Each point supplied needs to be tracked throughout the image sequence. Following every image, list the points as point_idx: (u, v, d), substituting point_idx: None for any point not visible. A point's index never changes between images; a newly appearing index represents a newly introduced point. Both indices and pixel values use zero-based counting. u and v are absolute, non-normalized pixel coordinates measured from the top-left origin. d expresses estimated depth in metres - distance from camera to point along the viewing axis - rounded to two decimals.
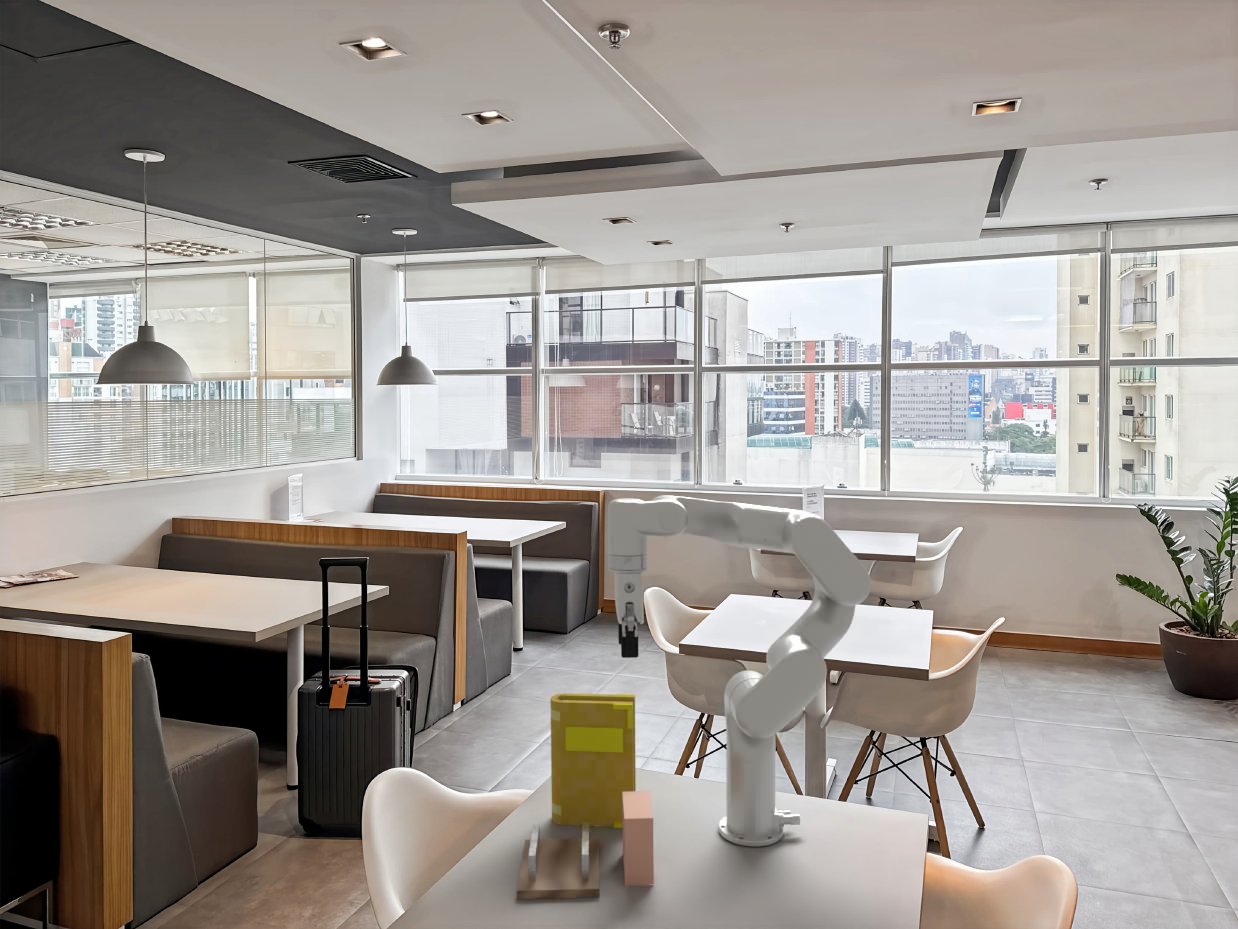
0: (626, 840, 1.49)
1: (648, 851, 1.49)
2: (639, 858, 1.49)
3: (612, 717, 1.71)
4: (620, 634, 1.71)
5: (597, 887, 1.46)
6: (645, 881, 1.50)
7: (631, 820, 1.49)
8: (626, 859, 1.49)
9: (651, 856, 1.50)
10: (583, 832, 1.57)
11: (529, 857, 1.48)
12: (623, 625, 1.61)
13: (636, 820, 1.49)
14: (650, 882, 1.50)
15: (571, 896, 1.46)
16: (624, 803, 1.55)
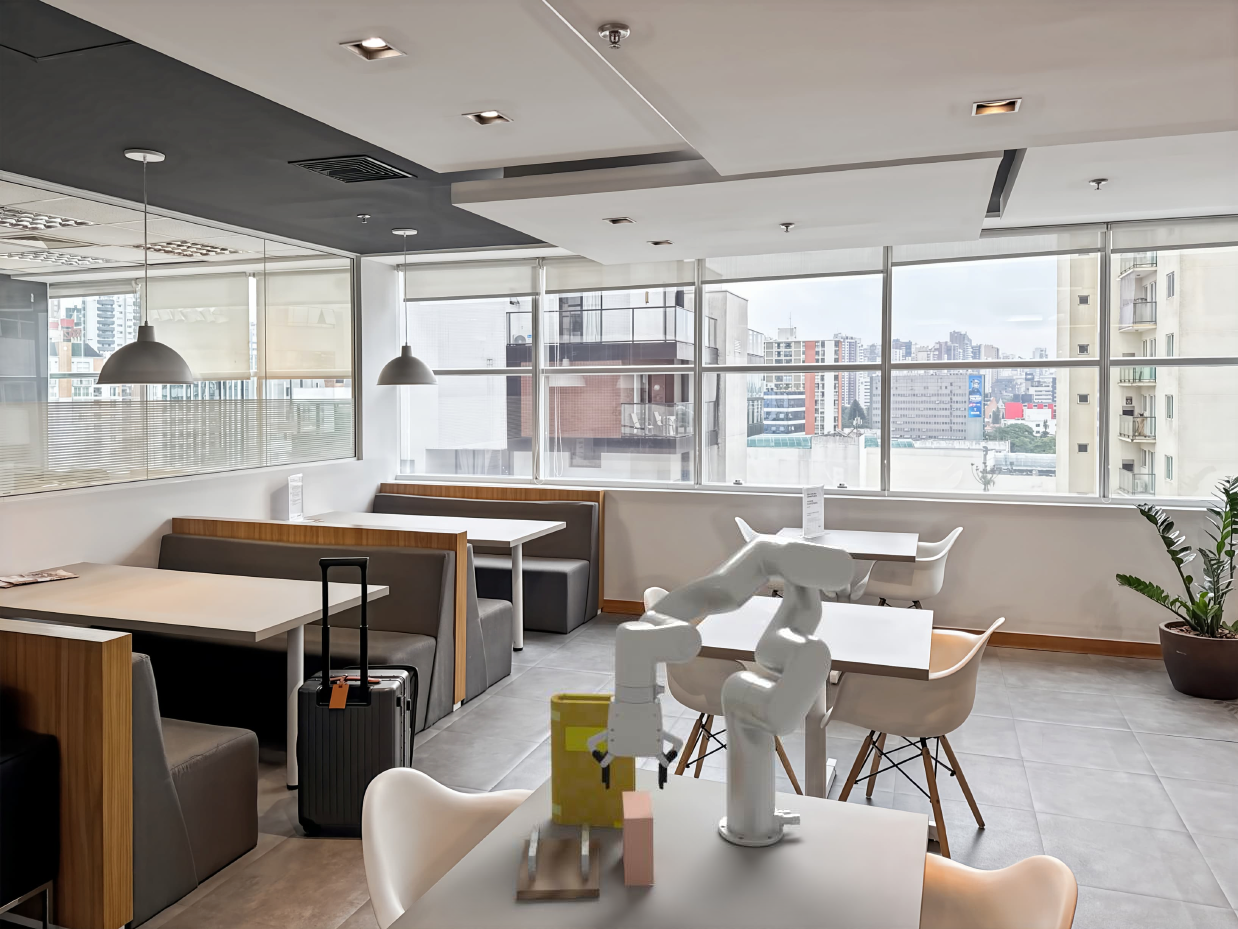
0: (626, 840, 1.49)
1: (648, 851, 1.49)
2: (639, 858, 1.49)
3: None
4: (609, 777, 1.53)
5: (597, 887, 1.46)
6: (645, 881, 1.50)
7: (631, 820, 1.49)
8: (626, 859, 1.49)
9: (651, 856, 1.50)
10: (583, 832, 1.57)
11: (529, 857, 1.48)
12: (663, 755, 1.53)
13: (636, 820, 1.49)
14: (650, 882, 1.50)
15: (571, 896, 1.46)
16: (624, 803, 1.55)
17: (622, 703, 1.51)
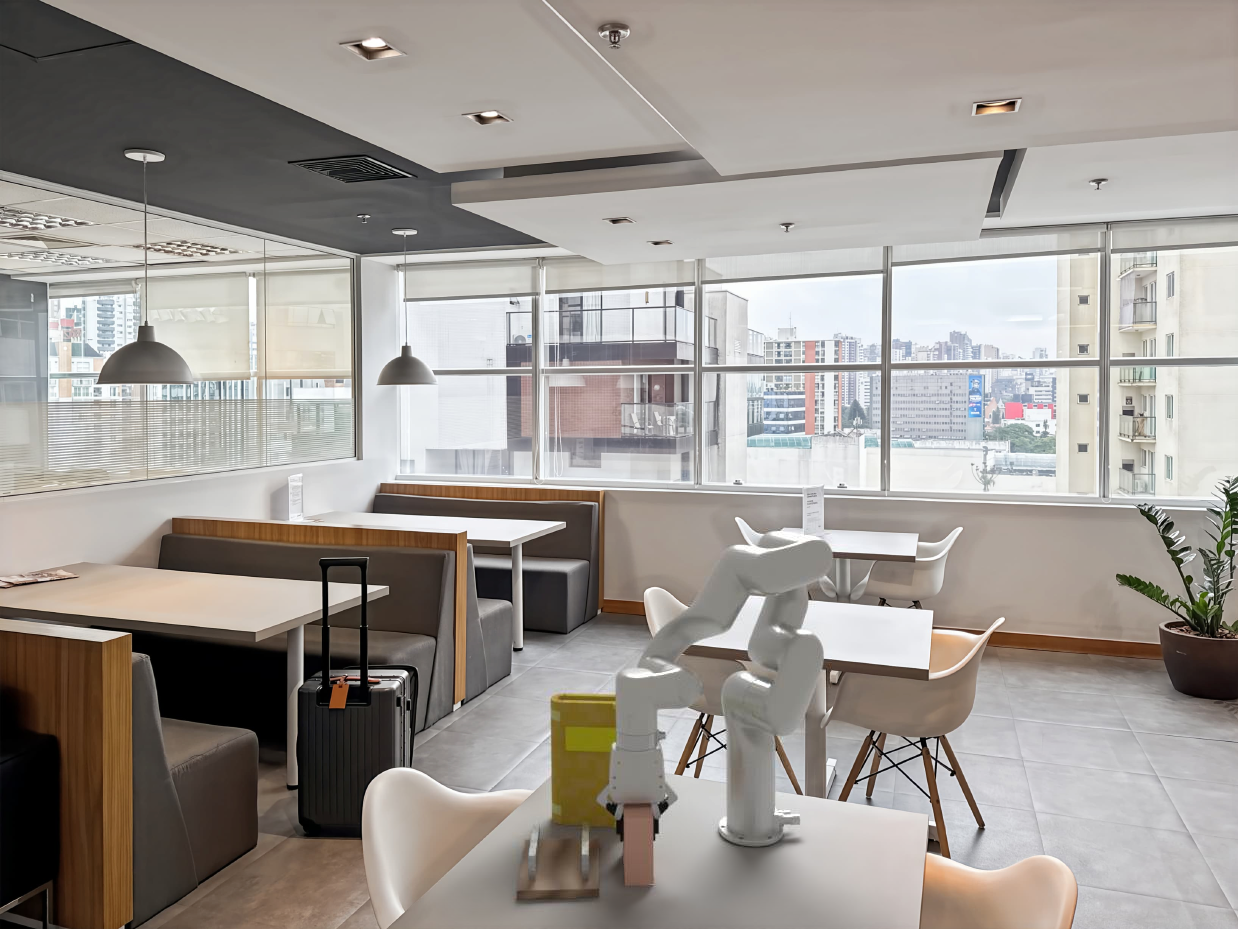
0: (626, 840, 1.49)
1: (648, 850, 1.49)
2: (639, 858, 1.49)
3: (612, 717, 1.71)
4: (623, 830, 1.53)
5: (597, 887, 1.46)
6: (645, 881, 1.50)
7: (631, 820, 1.49)
8: (626, 859, 1.49)
9: (651, 856, 1.49)
10: (583, 832, 1.57)
11: (529, 857, 1.48)
12: (657, 806, 1.54)
13: (636, 820, 1.49)
14: (650, 882, 1.50)
15: (571, 896, 1.46)
16: None
17: (623, 751, 1.51)
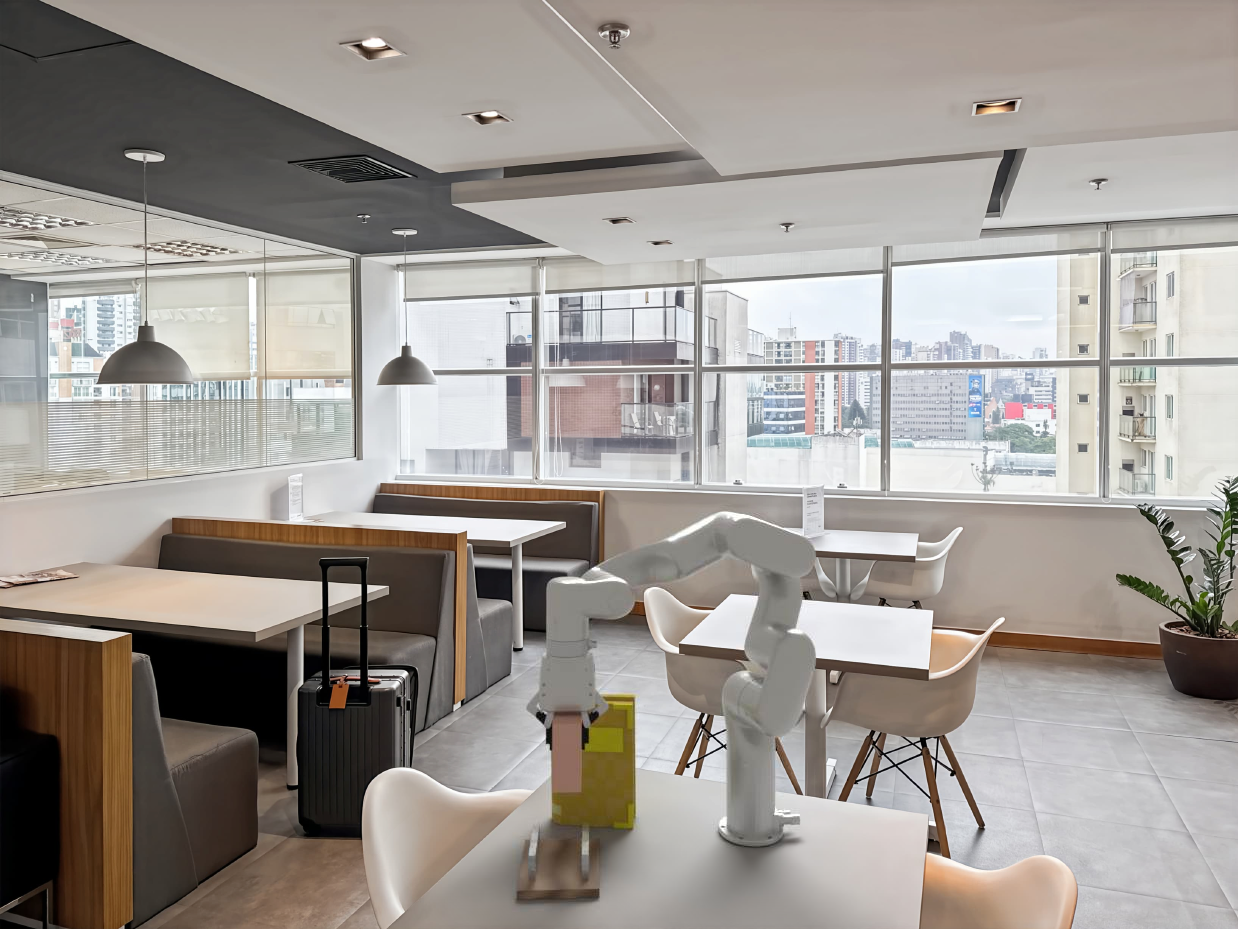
0: (554, 746, 1.48)
1: (576, 757, 1.48)
2: (566, 765, 1.48)
3: (612, 717, 1.71)
4: None
5: (597, 887, 1.46)
6: (573, 788, 1.48)
7: (559, 726, 1.48)
8: (554, 765, 1.48)
9: (579, 762, 1.48)
10: (583, 832, 1.57)
11: (529, 857, 1.48)
12: (587, 715, 1.52)
13: (564, 726, 1.48)
14: (578, 789, 1.48)
15: (571, 896, 1.46)
16: None
17: (553, 657, 1.50)
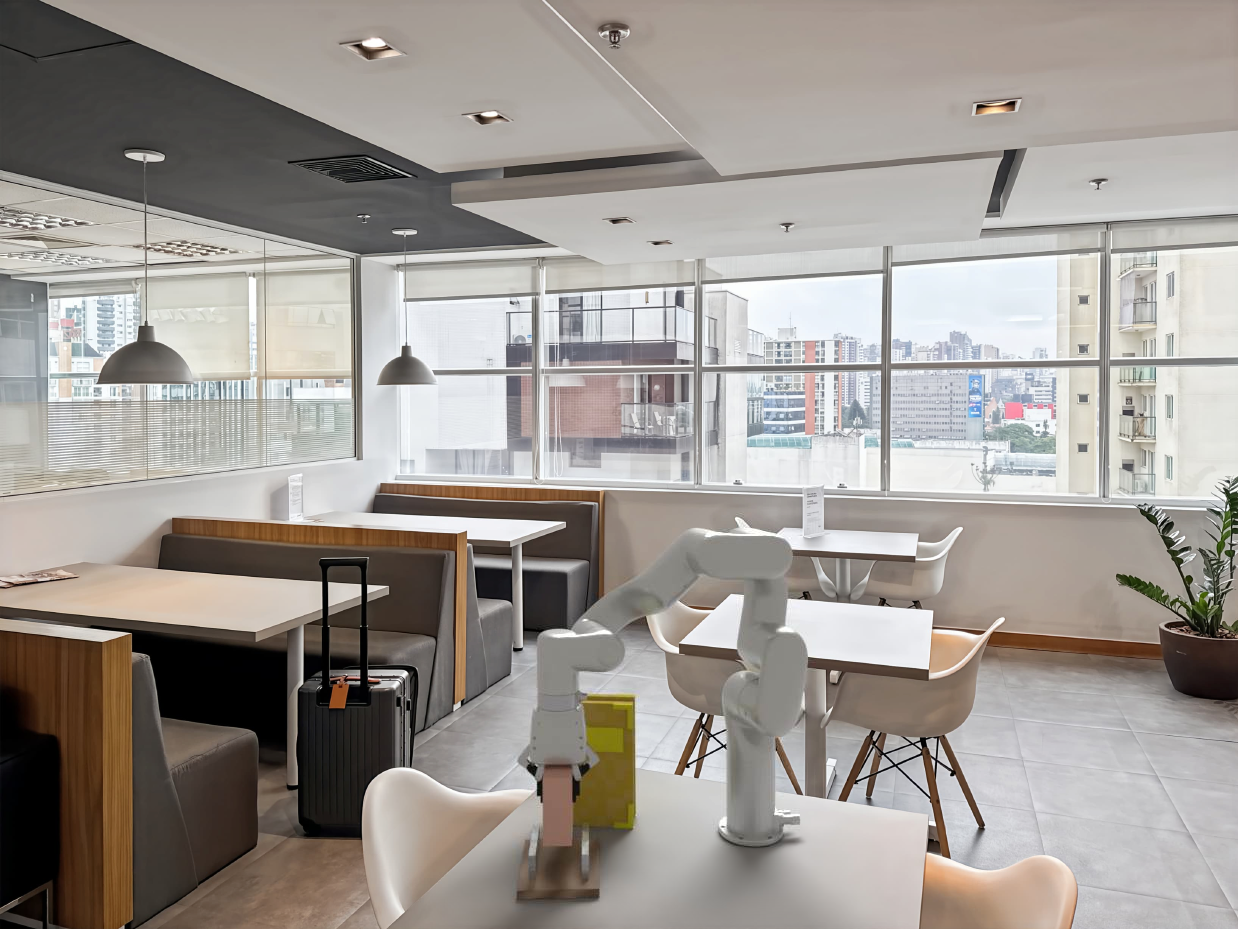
0: (544, 800, 1.48)
1: (566, 811, 1.49)
2: (557, 818, 1.49)
3: (612, 717, 1.71)
4: None
5: (597, 887, 1.46)
6: (563, 842, 1.49)
7: (549, 780, 1.48)
8: (544, 819, 1.49)
9: (569, 816, 1.49)
10: (583, 832, 1.57)
11: (529, 857, 1.48)
12: (578, 768, 1.53)
13: (554, 780, 1.48)
14: (568, 843, 1.49)
15: (571, 896, 1.46)
16: None
17: (543, 711, 1.50)
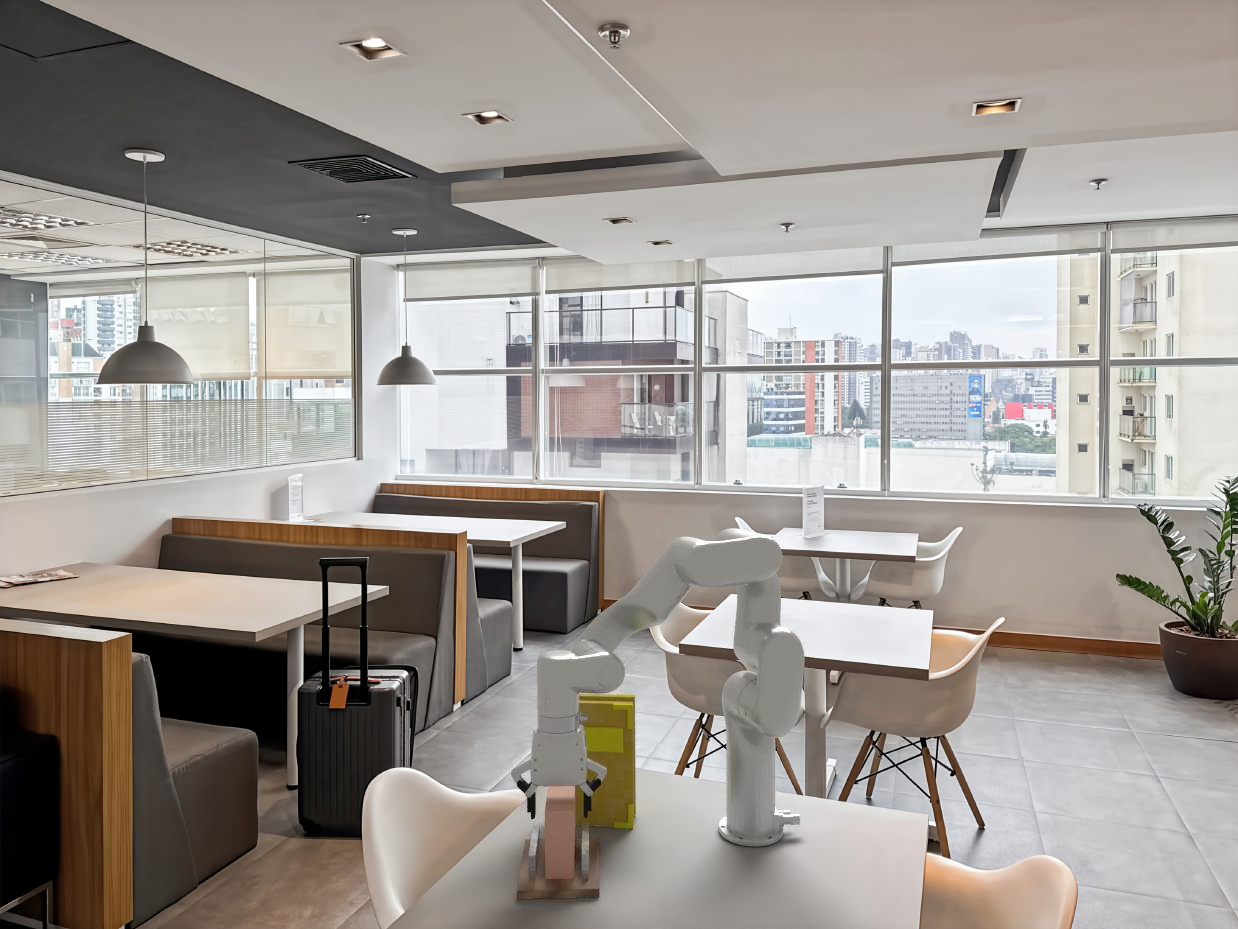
0: (546, 833, 1.49)
1: (569, 844, 1.49)
2: (559, 851, 1.49)
3: (612, 717, 1.71)
4: (534, 807, 1.53)
5: (597, 887, 1.46)
6: (566, 874, 1.49)
7: (551, 813, 1.49)
8: (546, 852, 1.49)
9: (572, 849, 1.49)
10: (583, 832, 1.57)
11: (529, 857, 1.48)
12: (586, 784, 1.53)
13: (556, 813, 1.49)
14: (571, 875, 1.49)
15: (571, 896, 1.46)
16: (547, 796, 1.55)
17: (544, 733, 1.51)
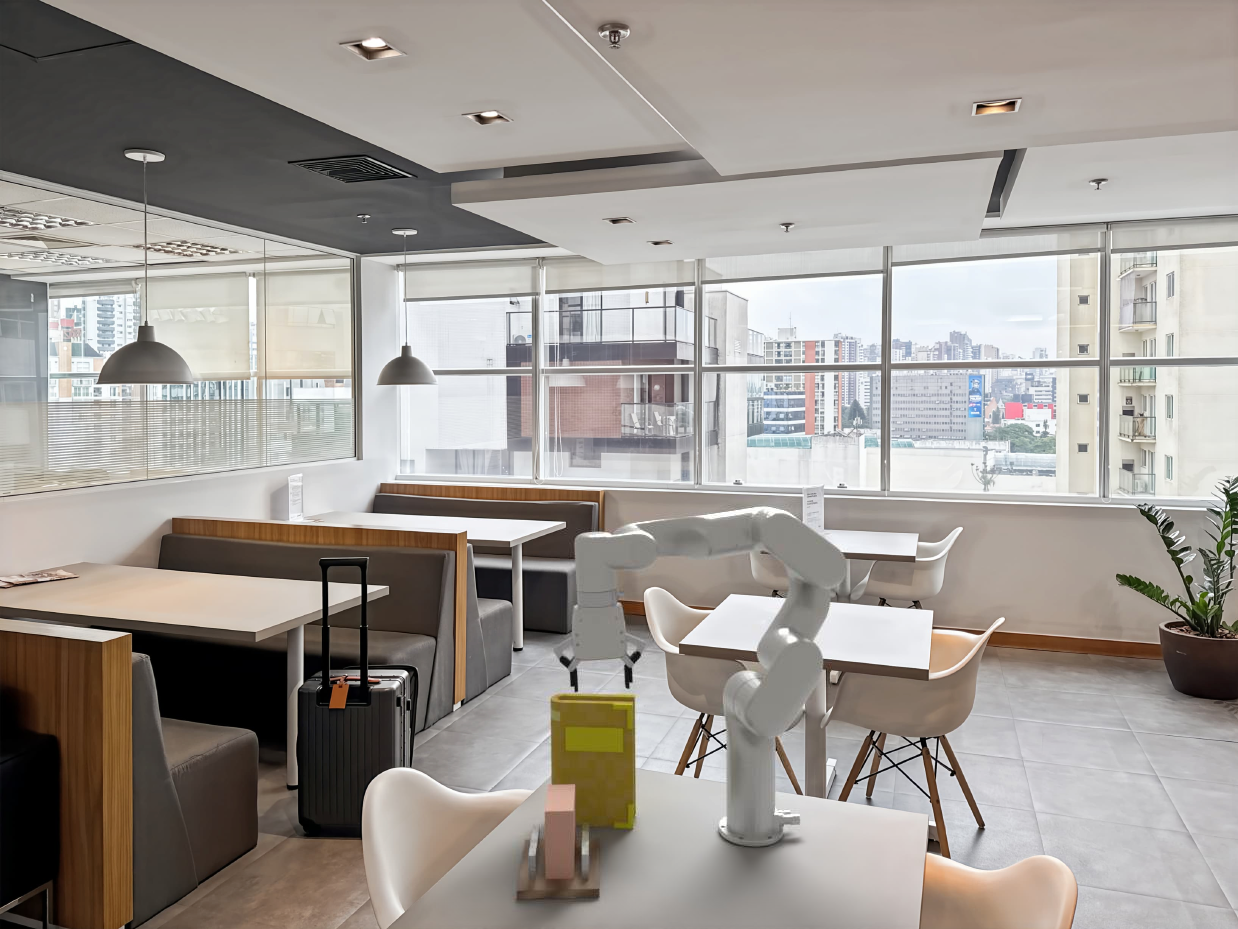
0: (546, 833, 1.49)
1: (569, 844, 1.49)
2: (559, 851, 1.49)
3: (612, 717, 1.71)
4: (577, 681, 1.60)
5: (597, 887, 1.46)
6: (566, 874, 1.49)
7: (551, 813, 1.49)
8: (546, 852, 1.49)
9: (572, 849, 1.49)
10: (583, 832, 1.57)
11: (529, 857, 1.48)
12: (627, 656, 1.60)
13: (556, 813, 1.49)
14: (571, 875, 1.49)
15: (571, 896, 1.46)
16: (547, 796, 1.55)
17: (584, 608, 1.57)
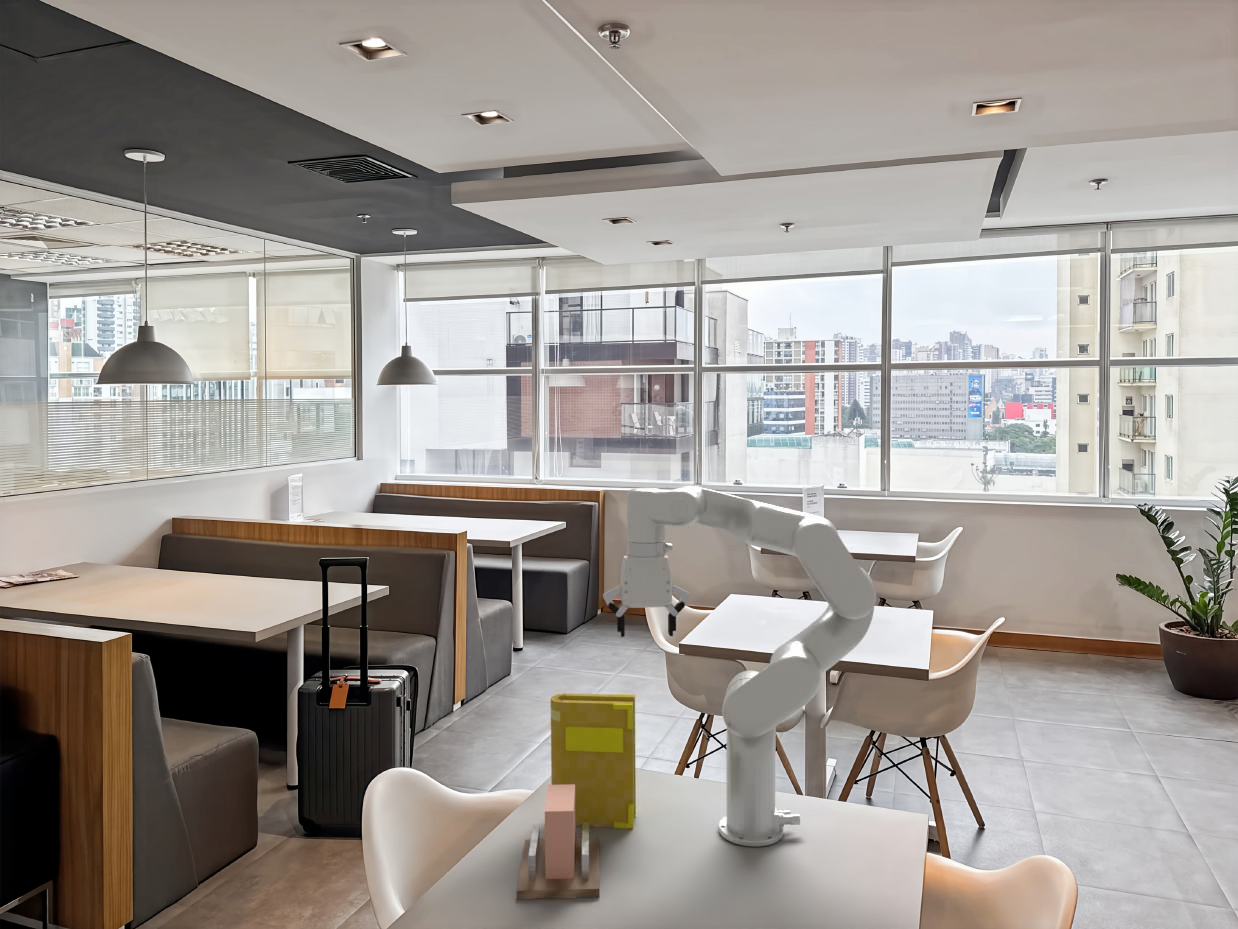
0: (546, 833, 1.49)
1: (569, 844, 1.49)
2: (559, 851, 1.49)
3: (612, 717, 1.71)
4: None
5: (597, 887, 1.46)
6: (566, 874, 1.49)
7: (551, 813, 1.49)
8: (546, 852, 1.49)
9: (572, 849, 1.49)
10: (583, 832, 1.57)
11: (529, 857, 1.48)
12: (672, 605, 1.70)
13: (556, 813, 1.49)
14: (571, 875, 1.49)
15: (571, 896, 1.46)
16: (547, 796, 1.55)
17: (634, 558, 1.68)
